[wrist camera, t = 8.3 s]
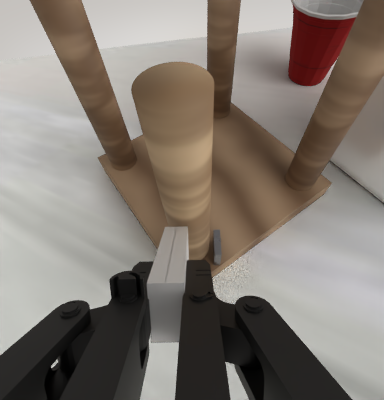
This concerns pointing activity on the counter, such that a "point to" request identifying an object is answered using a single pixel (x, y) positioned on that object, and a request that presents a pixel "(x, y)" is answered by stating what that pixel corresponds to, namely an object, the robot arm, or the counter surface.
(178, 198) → the folding leg
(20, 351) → the robot arm
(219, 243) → the hinge bracket
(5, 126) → the counter surface
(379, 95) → the white canister
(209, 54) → the footstool
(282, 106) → the counter surface
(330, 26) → the plastic cup
